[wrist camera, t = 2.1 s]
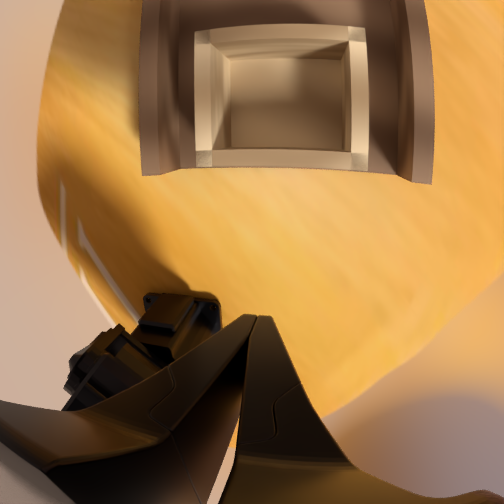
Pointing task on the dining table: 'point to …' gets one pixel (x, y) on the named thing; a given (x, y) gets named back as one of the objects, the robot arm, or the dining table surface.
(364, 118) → the box
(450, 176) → the dining table surface
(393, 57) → the bay
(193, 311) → the robot arm
